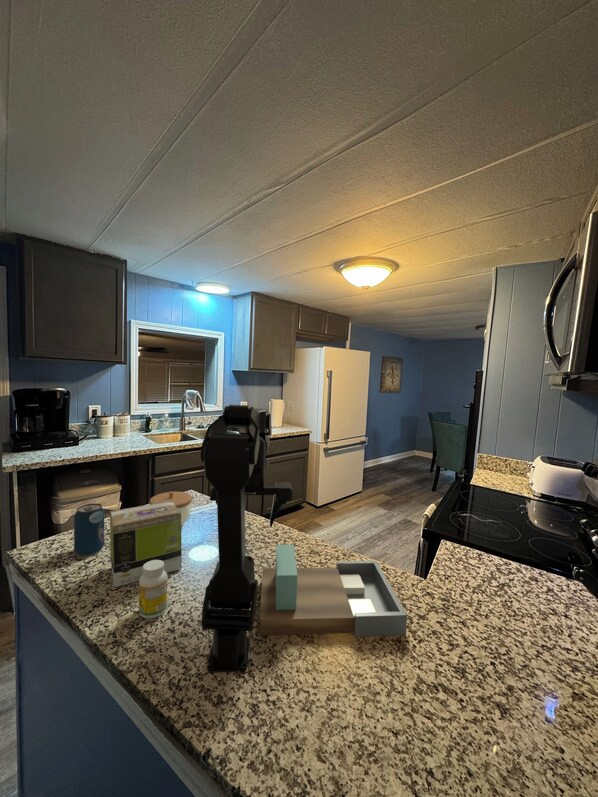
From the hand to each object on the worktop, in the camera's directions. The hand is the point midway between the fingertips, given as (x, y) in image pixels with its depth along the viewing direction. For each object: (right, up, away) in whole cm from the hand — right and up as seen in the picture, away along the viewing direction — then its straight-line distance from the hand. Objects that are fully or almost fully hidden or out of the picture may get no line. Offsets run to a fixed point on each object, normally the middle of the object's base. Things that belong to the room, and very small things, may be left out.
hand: (251, 526), depth 79 cm
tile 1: (+23, -13, -2) cm, 27 cm away
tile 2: (+24, -14, -11) cm, 30 cm away
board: (+12, -14, -7) cm, 20 cm away
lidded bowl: (-30, -11, +27) cm, 42 cm away
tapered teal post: (+8, -11, -8) cm, 16 cm away
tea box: (-27, -12, +4) cm, 30 cm away
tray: (+26, -14, -6) cm, 30 cm away
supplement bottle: (-19, -13, -11) cm, 25 cm away
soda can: (-45, -11, +11) cm, 48 cm away
